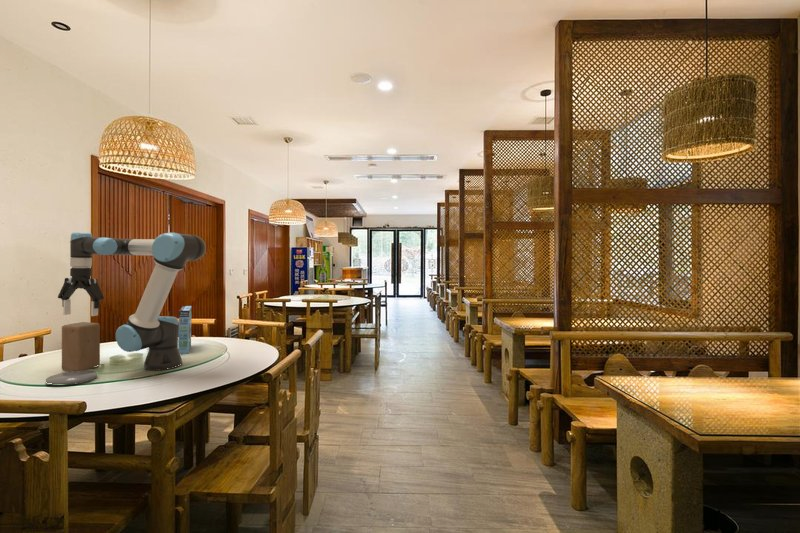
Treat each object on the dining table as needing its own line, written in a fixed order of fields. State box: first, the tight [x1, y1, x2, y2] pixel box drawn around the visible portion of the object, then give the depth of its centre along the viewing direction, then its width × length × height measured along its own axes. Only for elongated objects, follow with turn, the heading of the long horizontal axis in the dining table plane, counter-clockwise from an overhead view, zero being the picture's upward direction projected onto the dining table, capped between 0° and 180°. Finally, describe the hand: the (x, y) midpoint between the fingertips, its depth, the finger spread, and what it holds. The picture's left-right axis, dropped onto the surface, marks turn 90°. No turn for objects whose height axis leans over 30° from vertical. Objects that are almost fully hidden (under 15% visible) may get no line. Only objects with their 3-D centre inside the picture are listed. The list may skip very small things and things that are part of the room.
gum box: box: [178, 305, 193, 355], centre depth 215 cm, size 20×5×23 cm, turn 24°
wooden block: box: [61, 321, 101, 372], centre depth 177 cm, size 10×10×20 cm
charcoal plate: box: [45, 369, 98, 385], centre depth 160 cm, size 16×16×2 cm
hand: (80, 315), depth 177 cm, fingers open, 13 cm apart
